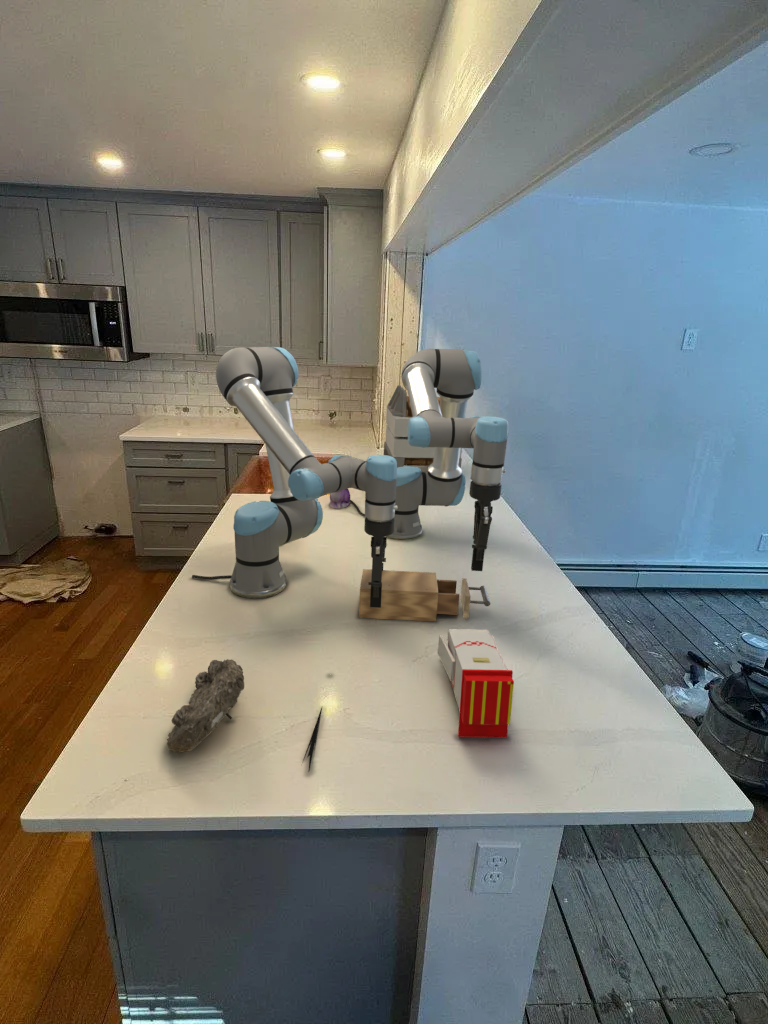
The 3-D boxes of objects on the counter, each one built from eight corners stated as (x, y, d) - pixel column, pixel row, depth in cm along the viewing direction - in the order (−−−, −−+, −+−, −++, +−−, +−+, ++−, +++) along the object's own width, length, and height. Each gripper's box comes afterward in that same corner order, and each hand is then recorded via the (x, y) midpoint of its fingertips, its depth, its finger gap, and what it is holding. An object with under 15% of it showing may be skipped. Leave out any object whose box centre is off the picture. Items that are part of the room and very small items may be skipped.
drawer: (483, 600, 154) (486, 579, 152) (489, 619, 145) (491, 597, 142) (396, 596, 154) (398, 575, 152) (396, 615, 145) (397, 592, 143)
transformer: (382, 463, 289) (386, 382, 275) (445, 464, 293) (451, 384, 279) (390, 482, 257) (394, 392, 243) (460, 483, 261) (468, 394, 247)
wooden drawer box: (433, 600, 155) (435, 572, 152) (436, 621, 145) (438, 592, 142) (362, 596, 156) (362, 569, 153) (359, 617, 145) (359, 588, 142)
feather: (331, 679, 122) (336, 673, 122) (307, 777, 96) (313, 769, 95) (324, 675, 122) (329, 669, 121) (298, 772, 95) (304, 764, 95)
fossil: (192, 660, 117) (244, 628, 112) (224, 691, 120) (276, 661, 115) (142, 746, 98) (202, 712, 93) (182, 779, 101) (242, 748, 96)
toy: (488, 613, 130) (523, 677, 101) (484, 667, 133) (517, 744, 104) (435, 612, 130) (455, 676, 101) (432, 666, 133) (451, 743, 103)
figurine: (333, 510, 219) (334, 473, 214) (323, 502, 227) (324, 466, 222) (355, 507, 223) (356, 471, 218) (345, 500, 232) (346, 464, 227)
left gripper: (394, 536, 130) (389, 619, 138) (395, 502, 153) (391, 576, 160) (361, 534, 130) (359, 617, 138) (367, 501, 153) (365, 574, 160)
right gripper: (506, 490, 131) (495, 582, 139) (497, 475, 144) (487, 559, 152) (473, 489, 131) (464, 580, 139) (467, 473, 144) (459, 558, 152)
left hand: (376, 595), depth 149 cm, fingers closed on wooden drawer box, 11 cm apart
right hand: (476, 569), depth 145 cm, fingers closed
